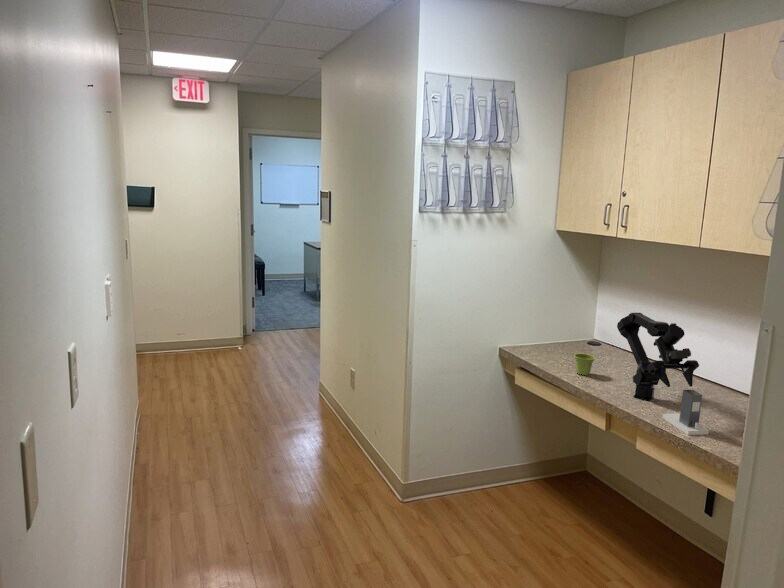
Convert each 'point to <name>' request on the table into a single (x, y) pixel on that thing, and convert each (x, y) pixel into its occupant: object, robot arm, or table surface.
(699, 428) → the dock
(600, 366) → the table surface
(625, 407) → the table surface
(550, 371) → the table surface
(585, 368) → the plant pot
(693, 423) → the block
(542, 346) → the table surface
